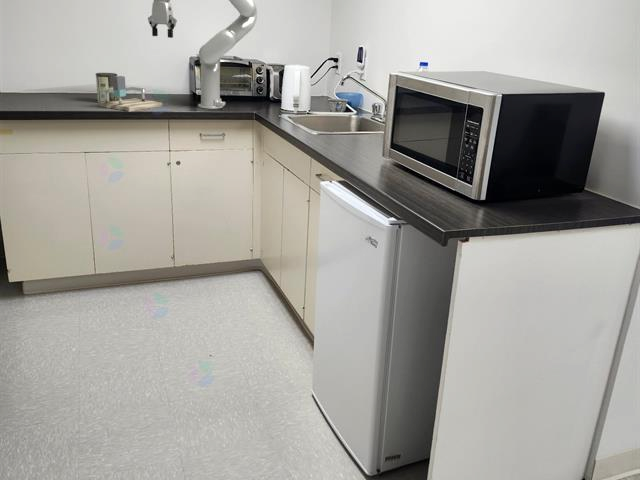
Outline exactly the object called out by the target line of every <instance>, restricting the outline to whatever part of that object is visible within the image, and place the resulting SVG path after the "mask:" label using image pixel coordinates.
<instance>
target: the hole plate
mask: <svg viewBox="0 0 640 480" xmlns="http://www.w3.org/2000/svg"><path fill="white" fill-rule="evenodd" d="M100 107H101V108H105V107H106V108H105V109H111V108H112V109H111V110H117V109H118V110H117V111H123V110H125V111H124V112H129V113H130V112H136V111H135V110H137V111H141V110H142V109H143V110H149V109H148V108H150V109H155V108H156V107H157V108H163V102H162V101H154V100H147V99H145V101H142V98H141V99H140V98H135V97H134V98H129V99H122V103H119V101H111V102H108V103H105V102H103V103H100Z"/></svg>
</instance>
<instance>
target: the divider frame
mask: <svg viewBox="0 0 640 480" xmlns="http://www.w3.org/2000/svg"><path fill="white" fill-rule="evenodd" d="M125 90H126V92H127V91H138V92H141V99H142V101H145V100H146V94H145V93H146V88H145V87H139V86H138V87H137V86H130V87H126V89H125ZM109 92H113V89H109V90H104V95H105V103H108V101H107V93H109Z"/></svg>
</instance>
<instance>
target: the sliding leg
mask: <svg viewBox="0 0 640 480" xmlns="http://www.w3.org/2000/svg"><path fill="white" fill-rule="evenodd" d="M112 78H113V94H114V96H118V100H119V103H122V100H123V99H122V97H127V91H126V90H125V89H126V88H127V86H126V77H125V76H122V75H117V76H113V77H112Z"/></svg>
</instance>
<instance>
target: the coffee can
mask: <svg viewBox="0 0 640 480" xmlns="http://www.w3.org/2000/svg"><path fill="white" fill-rule="evenodd" d="M113 76H118V73H115V72H96V73H95V79H96V80H95V81H96V82H95V83H96V93H97V103H100V104H101V103H103V102H105V95H104V90H109V89H113V78H112V77H113ZM107 101H108V102H111V101H119V99H118V96H114V94H113V92H109V93H107Z"/></svg>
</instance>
